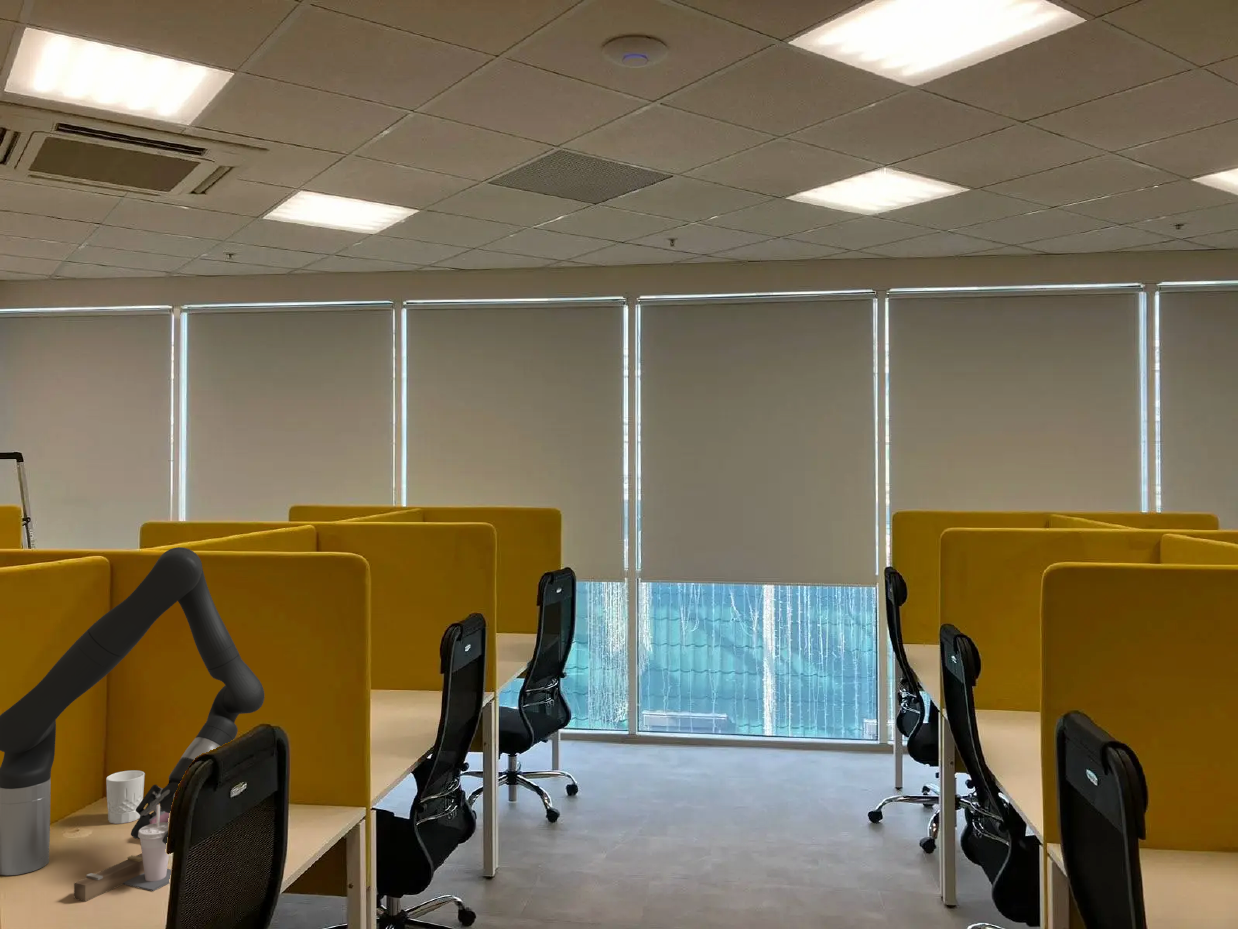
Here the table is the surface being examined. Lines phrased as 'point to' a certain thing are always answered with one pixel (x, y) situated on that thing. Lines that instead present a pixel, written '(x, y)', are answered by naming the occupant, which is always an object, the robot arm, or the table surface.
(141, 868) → the guide rail
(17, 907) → the table surface
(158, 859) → the smoothie
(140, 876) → the end pad
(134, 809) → the white cup
